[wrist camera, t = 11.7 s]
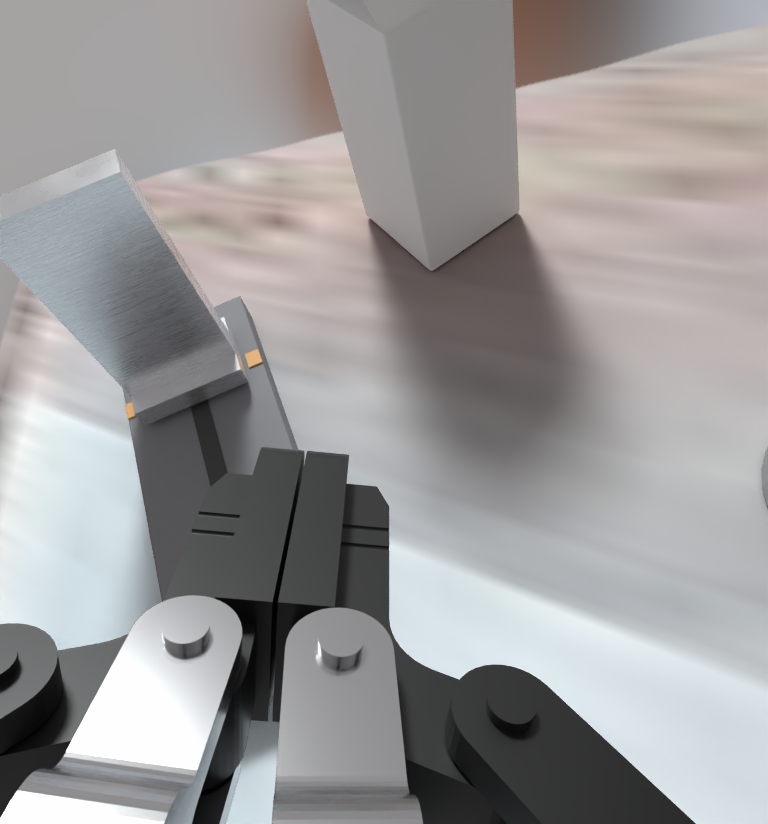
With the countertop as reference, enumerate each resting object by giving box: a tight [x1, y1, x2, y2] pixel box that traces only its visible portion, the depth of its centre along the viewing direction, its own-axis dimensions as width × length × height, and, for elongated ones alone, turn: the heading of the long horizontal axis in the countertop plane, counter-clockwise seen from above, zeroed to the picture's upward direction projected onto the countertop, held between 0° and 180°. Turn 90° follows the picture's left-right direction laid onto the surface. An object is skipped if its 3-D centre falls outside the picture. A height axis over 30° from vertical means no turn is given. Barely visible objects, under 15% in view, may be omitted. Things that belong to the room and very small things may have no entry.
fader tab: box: [0, 149, 249, 425], centre depth 32 cm, size 4×6×13 cm, turn 111°
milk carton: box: [306, 0, 519, 271], centre depth 36 cm, size 7×7×19 cm
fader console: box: [123, 296, 298, 698], centre depth 36 cm, size 22×8×2 cm, turn 21°
